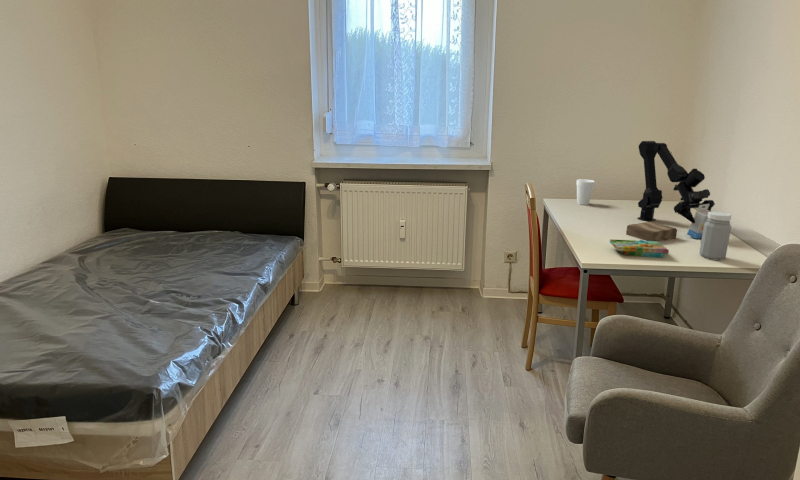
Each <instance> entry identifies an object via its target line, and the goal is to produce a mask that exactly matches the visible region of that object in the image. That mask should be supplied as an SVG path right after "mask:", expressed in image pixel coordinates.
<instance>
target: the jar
mask: <svg viewBox="0 0 800 480" xmlns="http://www.w3.org/2000/svg"><path fill="white" fill-rule="evenodd" d="M731 219H732V214H731V213H729V212H724V211H712V210H711V212H708V219H707V222H706V223H705V224H704V229H703V235H702V238H701V241H700V246H699V255H700V256H701V257H702V258H703V257H704V258H703V259H707V258H708V259H707V260H711V259H717V260H716V261H721V260H720V259H723V260H724V259H725V258H726V257H727V252H728V247H729V241H730V235H731V230H732V225H731Z"/></svg>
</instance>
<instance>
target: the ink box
mask: <svg viewBox="0 0 800 480" xmlns="http://www.w3.org/2000/svg"><path fill="white" fill-rule="evenodd" d="M709 205H710V204H703V205H699V207H698V208H696V211H695V214H694V215H693V218H694V220H695V223H692V222H690V223H691V224H690V225H689V228H688V231H687V232H686V235H687V236H689V237H691V238H693V239H695V240H697V239H702V235H703V229H704V224H705V223H706V222H707V219H708V212H711V211H712V210H711V211H709V210H707V209H708V207H709ZM703 206H704V207H705V208H702V207H703Z"/></svg>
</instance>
